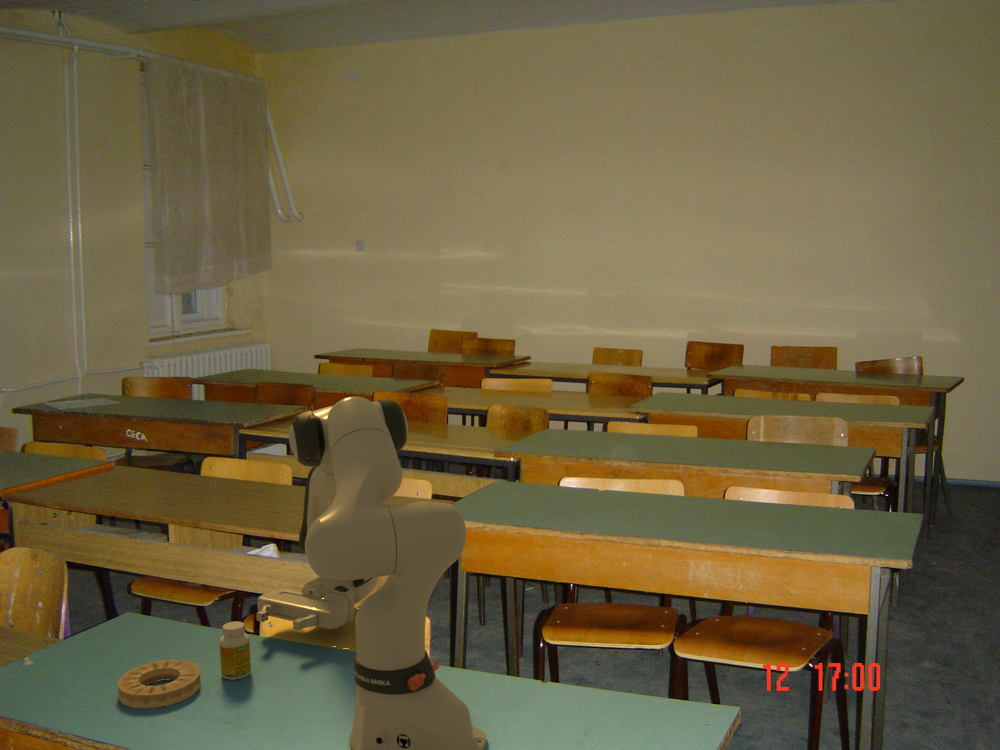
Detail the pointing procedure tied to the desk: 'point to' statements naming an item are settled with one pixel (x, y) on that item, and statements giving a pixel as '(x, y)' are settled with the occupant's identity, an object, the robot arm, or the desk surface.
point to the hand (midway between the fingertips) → (277, 622)
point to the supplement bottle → (235, 651)
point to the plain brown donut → (162, 695)
